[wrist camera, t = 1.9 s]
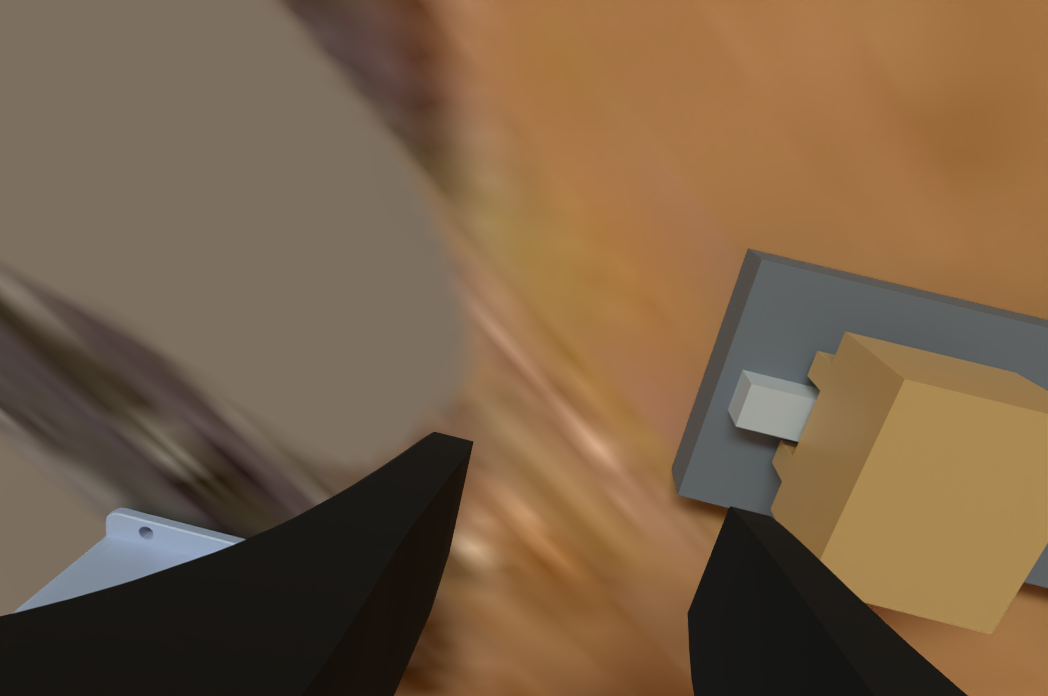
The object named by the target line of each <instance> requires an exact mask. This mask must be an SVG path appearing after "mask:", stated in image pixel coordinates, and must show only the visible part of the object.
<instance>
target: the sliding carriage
mask: <svg viewBox="0 0 1048 696" xmlns="http://www.w3.org/2000/svg"><path fill="white" fill-rule="evenodd" d="M807 376H808V377H809V378H810V380H811V381H812V382H813V383H814V384H815V385H816V386H817V388H818V389H819V390H820V393H819V395H818V397H817V400H816V402H815V404H814V407H813V409H812V412H811V414H810V416H809V419H808V421H807V423H806V426H805V428H804V431H803V433H802V435H801V438H800V440H799V442H798V444H796V443H792V442H788V441H784V440H781V441H780V443H779V446H778V448H777V451H776V453H775V456H774V458H773V460H772V464H773V466H774V467H775V469H776V471H777V473H778V475H779V477H780V479H781V481H782V483H781V485H780V488H779V490H778V492H777V495H776V497H775V500H774V502H773V504H772V507H771V511H772V514H773V516H774V518H775V520H776V521H778V522H779V523H780V524H781V525H782V526H784V527H785V528H786V529H787V530H788V531H789V532H790V533H792V534H793V535H794V536H795V537H796V538H797V539H798V540H799V541H800V542H801V543H802V544H803V545H805V546H806V547H807V548H808V549H809V550H810V551H811V552H812V553H813V554H814V555H815V556H816V557H817V558H818V559H819V560H820V561H821V562H822V563H823V564H824V565H825V566H826V567H827V568H829V569H830V570H831V571H832V572H833V573H834V574H835V575H836V576H837V577H838V578H839V579H840V580H841V581H842V582H843V583H844V584H845V585H846V586H847V587H848V588H849V589H850V590H851V591H852V592H853V593H854V594H855V595H857V596H858V597H859V598H860V599H861V600H862V601H863V602H864V603H868V604H872V605H876V606H880V607H884V608H888V609H892V610H896V611H900V612H904V613H908V614H912V615H915V616H919V617H923V618H927V619H931V620H935V621H939V622H943V623H947V624H951V625H955V626H959V627H963V628H967V629H971V630H974V631H978V632H982V633H986V634H990V635H991V634H992V633H993V631H994V630H995V628H996V626H997V625H998V623H999V621H1000V620H1001V618H1002V617H1003V615H1004V613H1005V612H1006V610H1007V608H1008V607H1009V605H1010V604H1011V602H1012V600H1013V599H1014V597H1015V595H1016V594H1017V592H1018V591H1019V589H1020V587H1021V586H1022V584H1023V582H1024V581H1025V579H1026V578H1027V576H1028V574H1029V573H1030V571H1031V569H1032V568H1033V566H1034V565H1035V563H1036V561H1037V560H1038V558H1039V556H1040V555H1041V553H1042V552H1043V550H1044V548H1045V547H1046V545H1047V543H1048V391H1047V390H1045V389H1043V388H1042V387H1040V386H1038V385H1036V384H1035V383H1033V382H1031V381H1029V380H1028V379H1026V378H1024V377H1022V376H1021V375H1019V374H1017V373H1015V372H1011V371H1007V370H1003V369H999V368H995V367H990V366H986V365H982V364H978V363H974V362H970V361H966V360H961V359H957V358H953V357H949V356H945V355H941V354H937V353H932V352H928V351H924V350H920V349H916V348H912V347H908V346H903V345H899V344H895V343H891V342H887V341H883V340H879V339H875V338H870V337H866V336H862V335H858V334H854V333H850V332H846V331H845V333H844V336H843V338H842V340H841V343H840V345H839V347H838V350H837V352H836V355H833V354H829V353H825V352H821V351H817V353H816V355H815V358H814V360H813V363H812V365H811V368H810V370H809V372H808V375H807Z"/></svg>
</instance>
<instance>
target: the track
mask: <svg viewBox="0 0 1048 696" xmlns="http://www.w3.org/2000/svg"><path fill="white" fill-rule="evenodd" d="M845 331H846V332H850V333H854V334H858V335H862V336H866V337H870V338H875V339H879V340H883V341H887V342H891V343H895V344H899V345H903V346H908V347H912V348H916V349H920V350H924V351H928V352H932V353H937V354H941V355H945V356H949V357H953V358H957V359H961V360H966V361H970V362H974V363H978V364H982V365H986V366H990V367H995V368H999V369H1003V370H1007V371H1011V372H1015V373H1017V374H1019V375H1021V376H1022V377H1024V378H1026V379H1028V380H1029V381H1031V382H1033V383H1035V384H1036V385H1038V386H1040V387H1042V388H1043V389H1045V390H1047V391H1048V320H1045V319H1040V318H1036V317H1032V316H1028V315H1024V314H1019V313H1015V312H1011V311H1007V310H1003V309H998V308H994V307H990V306H986V305H982V304H978V303H973V302H969V301H965V300H961V299H957V298H952V297H948V296H944V295H940V294H936V293H932V292H927V291H923V290H919V289H915V288H911V287H906V286H902V285H898V284H894V283H890V282H885V281H881V280H877V279H873V278H869V277H865V276H860V275H856V274H852V273H848V272H844V271H839V270H835V269H831V268H827V267H823V266H818V265H814V264H810V263H806V262H802V261H798V260H793V259H789V258H785V257H781V256H777V255H772V254H768V253H764V252H760V251H756V250H752V249H748V251H747V253H746V256H745V259H744V262H743V265H742V268H741V271H740V274H739V276H738V279H737V282H736V285H735V288H734V291H733V294H732V297H731V299H730V302H729V305H728V308H727V311H726V314H725V317H724V320H723V323H722V325H721V328H720V331H719V334H718V337H717V340H716V343H715V346H714V348H713V351H712V354H711V357H710V360H709V363H708V366H707V369H706V371H705V374H704V377H703V380H702V383H701V386H700V389H699V392H698V395H697V397H696V400H695V403H694V406H693V409H692V412H691V415H690V418H689V420H688V423H687V426H686V429H685V432H684V435H683V438H682V441H681V443H680V446H679V449H678V452H677V455H676V458H675V461H674V464H673V467H672V472H673V477H674V481H675V486H676V490H677V494H678V495H679V496H683V497H687V498H691V499H695V500H699V501H703V502H707V503H711V504H715V505H719V506H723V507H727V508H729V507H730V506H732V507H736V508H740V509H744V510H748V511H752V512H756V513H760V514H764V515H768V516H771V517H772V518H774V516H773V514H772V511H771V507H772V504H773V502H774V500H775V497H776V495H777V492H778V490H779V488H780V485H781V483H782V481H781V479H780V477H779V475H778V473H777V471H776V469H775V467H774V466H773V464H772V460H773V458H774V456H775V453H776V451H777V448H778V446H779V443H780V441H781V440H784V441H788V442H792V443H796V444H798V442H799V440H800V438H801V435H802V433H803V431H804V428H805V426H806V423H807V421H808V419H809V416H810V414H811V412H812V409H813V407H814V404H815V402H816V400H817V397H818V395H819V393H820V390H819V389H818V388H817V386H816V385H815V384H814V383H813V382H812V381H811V380H810V378H809V377H808V376H807V375H808V372H809V370H810V368H811V365H812V363H813V360H814V358H815V355H816V353H817V351H821V352H825V353H829V354H833V355H836V352H837V350H838V347H839V345H840V343H841V340H842V338H843V336H844V333H845ZM774 519H775V518H774ZM1024 582H1025V583H1029V584H1033V585H1037V586H1041V587H1045V588H1048V543H1047V545H1046V547H1045V548H1044V550H1043V552H1042V553H1041V555H1040V556H1039V558H1038V560H1037V561H1036V563H1035V565H1034V566H1033V568H1032V569H1031V571H1030V573H1029V574H1028V576H1027V578H1026V579H1025V581H1024Z"/></svg>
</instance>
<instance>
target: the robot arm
mask: <svg viewBox="0 0 1048 696" xmlns="http://www.w3.org/2000/svg"><path fill="white" fill-rule="evenodd" d="M472 446H473V441H469V440H465V439H461V438H457V437H453V436H449V435H445V434H441V433H437V432H433V433H431V434H429V435H428V436H426V437H424V438H423V439H421V440H420V441H419V442H417V443H416V444H414V445H413V446H411V447H410V448H409V449H407V450H406V451H404V452H403V453H401V454H400V455H399V456H397V457H396V458H394V459H393V460H391V461H390V462H388V463H387V464H385V465H384V466H382V467H381V468H379V469H378V470H376V471H374V472H373V473H371V474H370V475H368V476H366V477H365V478H363V479H362V480H360V481H358V482H357V483H355V484H354V485H352V486H351V487H349V488H347V489H346V490H344V491H342V492H340V493H339V494H337V495H335V496H333V497H331V498H330V499H328V500H326V501H324V502H322V503H320V504H319V505H317V506H315V507H313V508H311V509H309V510H308V511H306V512H304V513H302V514H300V515H298V516H297V517H295V518H293V519H291V520H289V521H287V522H284V523H282V524H280V525H278V526H276V527H274V528H272V529H269V530H267V531H265V532H262V533H260V534H258V535H255V536H253V537H251V538H248V539H243V538H239V537H235V536H231V535H227V534H223V533H220V532H216V531H212V530H208V529H204V528H200V527H196V526H192V525H189V524H185V523H181V522H177V521H173V520H169V519H165V518H162V517H158V516H154V515H150V514H146V513H142V512H138V511H135V510H131V509H127V508H118V509H116V510H114V511H113V512H112V513H111V514H109V515H108V516H107V518H106V537H104V538H103V539H102V540H101V541H100V542H98V543H97V544H96V545H95V546H93V547H92V548H91V549H90V550H89V551H87V552H86V553H85V554H84V555H83V556H81V557H80V558H79V559H78V560H77V561H75V562H74V563H73V564H72V565H70V566H69V567H68V568H67V569H66V570H65V571H63V572H62V573H61V574H60V575H58V576H57V577H56V578H55V579H53V580H52V581H51V582H50V583H49V584H48V585H46V586H45V587H44V588H43V589H41V590H40V591H39V592H38V593H36V595H34V596H33V597H32V598H31V599H29V600H28V601H27V602H26V603H24V604H23V605H22V606H21V607H19V608H18V609H17V610H16V611H15V612H14V613H12V614H9V615H4V616H0V696H394V694H395V692H396V690H397V687H398V685H399V683H400V680H401V678H402V676H403V674H404V671H405V669H406V667H407V665H408V662H409V660H410V658H411V656H412V653H413V651H414V649H415V646H416V644H417V642H418V640H419V637H420V635H421V633H422V630H423V628H424V626H425V624H426V621H427V619H428V617H429V614H430V612H431V609H432V606H433V603H434V600H435V596H436V593H437V590H438V587H439V584H440V581H441V577H442V574H443V571H444V568H445V565H446V561H447V558H448V555H449V552H450V547H451V542H452V538H453V533H454V529H455V524H456V519H457V515H458V510H459V506H460V501H461V496H462V492H463V487H464V483H465V478H466V473H467V469H468V464H469V460H470V455H471V450H472ZM147 527H148V528H150V529H151V530H152V531H153V532H152V531H150V530H149V529H148V528H147ZM688 630H689V651H690V664H691V678H692V684H693V690H694V696H968V695H966V694H965V693H964V692H963V691H962V690H960V689H959V688H958V687H957V686H956V685H955V684H954V683H952V682H951V681H950V680H949V679H948V678H947V677H946V676H944V675H943V674H942V673H941V672H940V671H939V670H938V669H936V668H935V667H934V666H933V665H932V664H931V663H930V662H928V661H927V660H926V659H925V658H924V657H923V656H922V655H920V654H919V653H918V652H917V651H916V650H915V649H914V648H912V647H911V646H910V645H909V644H908V643H907V642H906V641H905V640H904V639H903V638H901V637H900V636H899V635H898V634H897V633H896V632H895V631H894V630H893V629H892V628H891V627H889V626H888V625H887V624H886V623H885V622H884V621H883V620H882V619H881V618H880V617H879V616H878V615H877V614H875V613H874V612H873V611H872V610H871V609H870V608H869V607H868V606H867V605H866V604H865V603H864V602H863V601H862V600H861V599H860V598H859V597H858V596H857V595H855V594H854V593H853V592H852V591H851V590H850V589H849V588H848V587H847V586H846V585H845V584H844V583H843V582H842V581H841V580H840V579H839V578H838V577H837V576H836V575H835V574H834V573H833V572H832V571H831V570H830V569H829V568H827V567H826V566H825V565H824V564H823V563H822V562H821V561H820V560H819V559H818V558H817V557H816V556H815V555H814V554H813V553H812V552H811V551H810V550H809V549H808V548H807V547H806V546H805V545H803V544H802V543H801V542H800V541H799V540H798V539H797V538H796V537H795V536H794V535H793V534H792V533H790V532H789V531H788V530H787V529H786V528H785V527H784V526H782V525H781V524H780V523H779V522H778V521H776V520H775V519H774V518H772V517H771V516H768V515H764V514H760V513H756V512H752V511H748V510H744V509H740V508H736V507H732V506H730V507H729V510H728V512H727V515H726V517H725V520H724V523H723V525H722V528H721V530H720V533H719V535H718V538H717V540H716V543H715V545H714V548H713V550H712V553H711V556H710V558H709V561H708V563H707V566H706V568H705V571H704V573H703V576H702V578H701V581H700V584H699V586H698V589H697V591H696V594H695V596H694V599H693V601H692V604H691V606H690V609H689V611H688Z"/></svg>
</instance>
